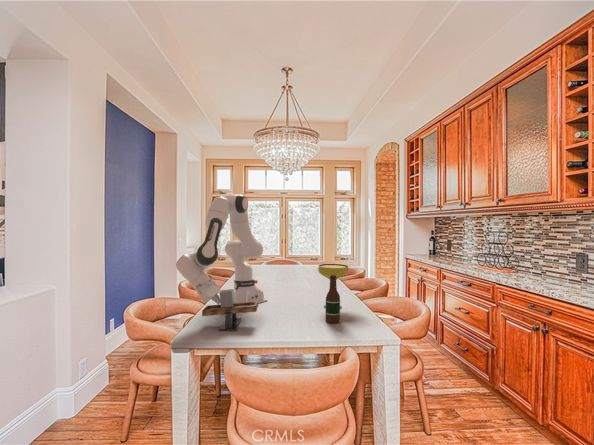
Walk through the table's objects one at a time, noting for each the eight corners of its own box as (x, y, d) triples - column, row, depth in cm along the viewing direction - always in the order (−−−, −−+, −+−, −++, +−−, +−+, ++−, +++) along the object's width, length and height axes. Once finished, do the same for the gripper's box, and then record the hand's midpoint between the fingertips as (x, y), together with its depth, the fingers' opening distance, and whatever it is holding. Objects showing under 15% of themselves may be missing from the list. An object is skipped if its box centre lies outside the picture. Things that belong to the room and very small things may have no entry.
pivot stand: (219, 330, 157) (219, 314, 157) (226, 319, 174) (226, 304, 174) (236, 330, 158) (236, 314, 157) (241, 320, 174) (241, 304, 174)
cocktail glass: (349, 311, 192) (350, 268, 192) (318, 311, 193) (318, 267, 192) (345, 303, 210) (346, 264, 210) (317, 303, 211) (317, 263, 210)
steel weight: (221, 310, 163) (219, 292, 163) (223, 307, 168) (221, 290, 168) (233, 309, 163) (231, 291, 163) (235, 306, 168) (233, 289, 168)
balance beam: (202, 317, 160) (201, 310, 160) (207, 311, 171) (207, 305, 171) (256, 313, 161) (255, 306, 161) (258, 307, 171) (257, 300, 171)
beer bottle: (327, 324, 169) (328, 277, 169) (323, 319, 176) (323, 274, 176) (342, 323, 170) (342, 276, 170) (337, 318, 178) (338, 274, 178)
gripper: (199, 281, 155) (219, 303, 155) (211, 275, 175) (229, 294, 175) (189, 291, 155) (210, 313, 155) (202, 283, 175) (220, 302, 175)
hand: (220, 303), depth 165 cm, fingers closed, pressing on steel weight
